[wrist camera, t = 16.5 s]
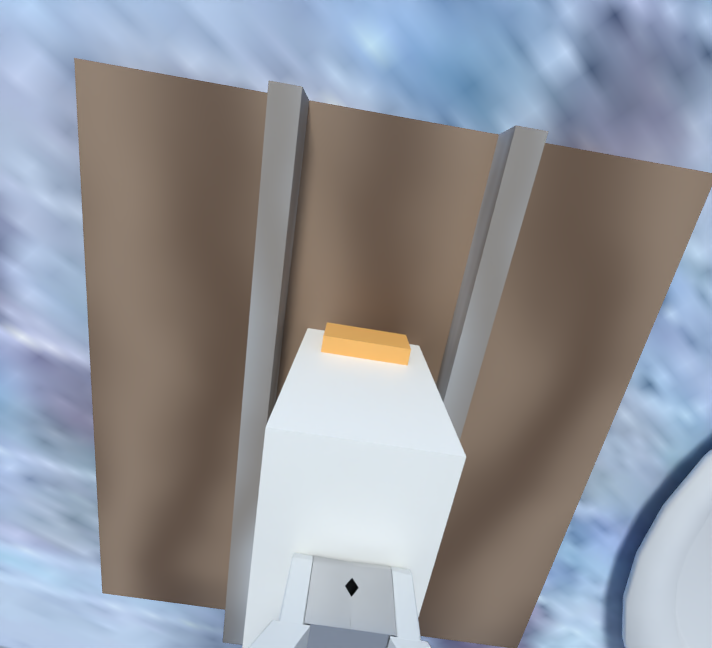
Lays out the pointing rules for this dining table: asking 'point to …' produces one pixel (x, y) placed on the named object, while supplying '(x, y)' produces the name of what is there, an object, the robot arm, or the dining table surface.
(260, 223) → the rail panel
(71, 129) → the dining table surface
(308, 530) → the rail module
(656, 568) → the plated food
